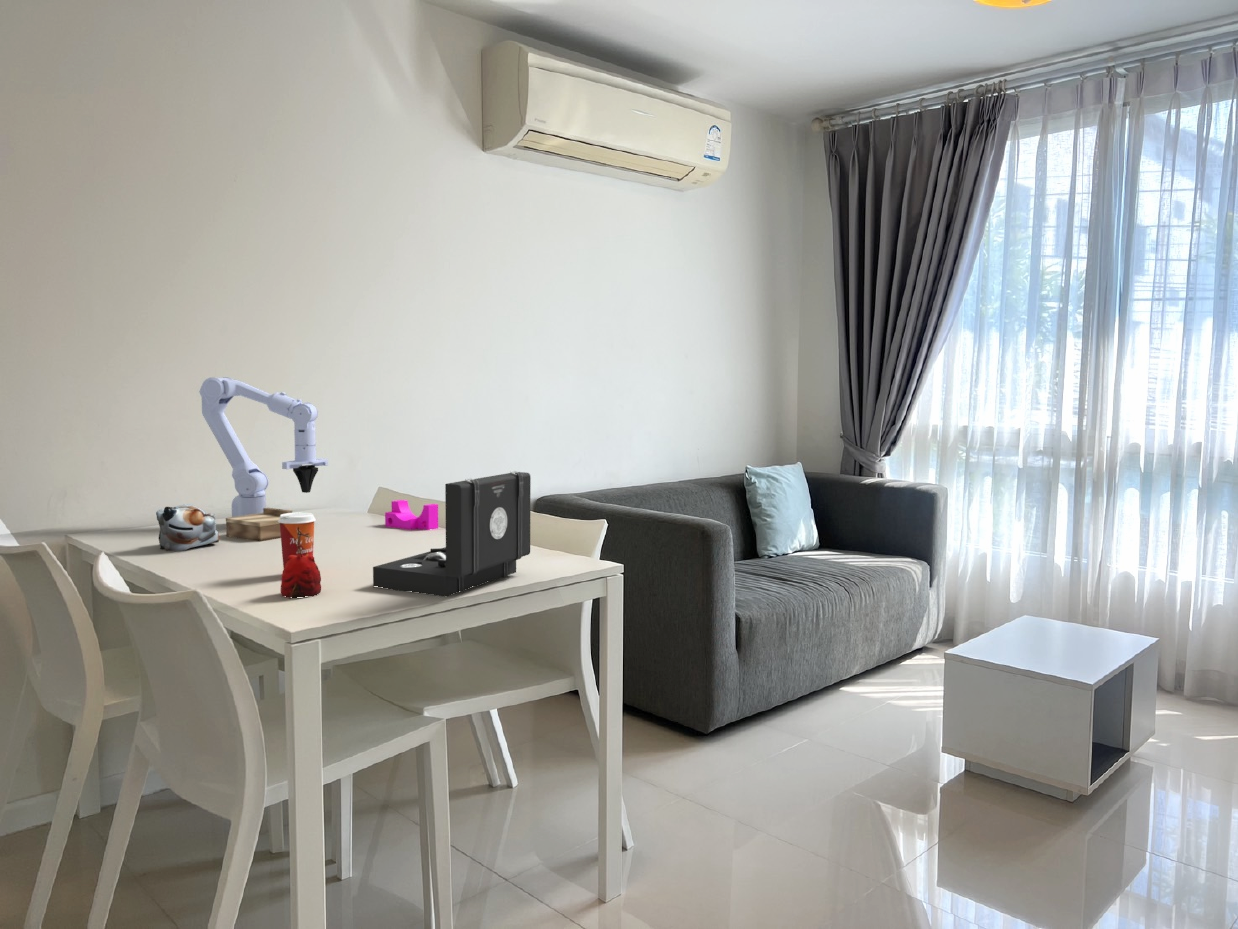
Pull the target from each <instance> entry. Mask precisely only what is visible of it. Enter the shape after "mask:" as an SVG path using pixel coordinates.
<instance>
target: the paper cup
mask: <svg viewBox="0 0 1238 929" xmlns="http://www.w3.org/2000/svg"><path fill="white" fill-rule="evenodd" d="M316 520H317V519H316V518H315V516H314V513H312V512H300V511H299V512H297V511H296V512H292V513H286V514H282V515H280V520H278V522H279V523H280V533H281V538H280V541H281V542H280V543H281V554H282V556H281V557H282V566H283V568H282V569H284V567H285V565H286V563H287V562H288V557H289V556H290V555H295V556H297V552H298V547H297V543H298V535H297V530H298V529H297V528H298V526H299V530H300V531H301V533H302V534H307V533H310V535H309V536H310V538H308V537H305V536H302V535H301V537H300V543H301V546H300V550H301V553H302V555H303V556H308V555H312V556H313V557H314V540H315V539H314V538H315V537H314V536H315V522H316ZM296 529H297V530H296Z"/></svg>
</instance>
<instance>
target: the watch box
mask: <svg viewBox="0 0 1238 929" xmlns="http://www.w3.org/2000/svg"><path fill="white" fill-rule="evenodd" d="M531 479H532V478H531V474H530V473H529V472H524V471H523V472H521V471H518V470H511V471H509V472H507V473H502V474H495V475H490V476H485V477H478V478H472V477H469V478H465V479H464V480H461V481H454V482H449V483H445V486H444V488H445V490H444V491H445V492H444V494H445V497H444V498H445V502H444V503H445V507H444V508H445V546H444V547H441V548H430V551H427V552H422V553H420V554H415V555H412V556H408V557H404V558H400V559H398V560H394V561H390V562H386V563H382V564H379V565H376V566H373V567H372V577H373V578H372V582H373V583H372V587H373V586H378V587H383V588H388V589H387V590H390V589H393V591H398V590H399V592H406V591H412V592H411V593H414V592H419V593H418V594H421V593H426V594H425V595H429V594H434V595H433V596H437V595H439V597H445V596H447V597H449V595H450V596H452V595H451V594H453V593H455V594H457V593H456V592H459V591H463V592H464V591H466V590H465V589H467V590H469V589H468V588H470V587H472V586H476V587H477V585H478V586H481V585H483V584H482V583H484V584H486V583H485V582H487V581H490V582H492V581H496V580H499V579H501V578H505V576H506V577H508V576H510V575H513V574H515V573H517V561H518V560H520V559H522V558H523V557H525V556H529V555H530V554H531V484H532V482H531ZM498 578H499V579H498ZM495 579H496V580H495ZM487 583H488V582H487ZM480 584H481V585H480ZM470 589H471V588H470ZM453 595H454V594H453Z"/></svg>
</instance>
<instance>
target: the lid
mask: <svg viewBox="0 0 1238 929" xmlns="http://www.w3.org/2000/svg"><path fill="white" fill-rule="evenodd" d="M286 513H293V510H289V509H281V508H273V507H272V508H271V507H266V508H263V513H258V514H251V515H244V516H237V517H232V516H231V517H226V518H225V523H226V522H230V523H237V524H244V525H251V526H258V527H262V526H269V525H275V524H280V523H279V522H278V520H280V515H282V514H286Z"/></svg>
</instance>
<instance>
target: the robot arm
mask: <svg viewBox="0 0 1238 929" xmlns="http://www.w3.org/2000/svg"><path fill="white" fill-rule="evenodd" d="M198 391H199V395H200V396H201V414H202V416H203V418H204V420H205V421H206V424H207V426H208V427H209V429H210V430H211V432H212V434H213V436H214V438H215V439H216V442H217V443H218V445H219V447H220V449H221V450H222V452H223V454H224V455H225V457H226V459H227V461H228V463H229V464H230V466H231V468H232V472H231V477H232V478H233V481H234V488H235V491H236V492H237V493H238V495H236V496H234V498H233V499H232V501H231V517H237V516H244V515H251V514H258V513H263V508H267V505H266V504H267V502H266V500H267V499H266V498H267V497H266V490H267V489H268V486H269V484H270V483H269V482H270V481H269V478H268V476H267V474H266V473H265V472H263V471H262V470H261V469H260V468H259V466H258V465H257V464H256V463H254V462H253V461H252V459H250V456H249V455H248V453H247V451H246V449H245V447H244V446H243V444H242V442H241V441H240V439H239V437H238V435H237V434H236V431H235V430H234V427H233V426H232V425H231V423H230V422H229V418H227V416H226V414H225V411H226V409H227V407H228V404H229V403H230V402H231V400H232V399H233V398H234V397H238V396H241V397H244V398H247V399H249V400H252V401H255V402H258V403H261V404H263V405H266V407H267V409H268V410H269V411H270V412H272V413H274V414H277V415H280V416H282V417H285V418H288V419H290V420H292V422H294V427H293V428H294V430H293V432H294V434H293V435H294V460H289V461H282V462H281V467H282V469H283V470H291V469H292V471H293V473H294V475H295V476H296V478H297V480H298V484H299V486H300V489H301V493H304V494H305V493H306V494H308V493H311V490H312V486H313V482H314V480H315V477H316V476H317V474H318V472H319V467H323V466H329V459H328V458H317V454H316V453H317V452H316V451H317V448H316V444H317V442H316V440H317V439H316V420H317V418H318V413H319V411H318V409H317V407H316V406H315V405H313V404H312V403H311V402H302V401H303V400H302V399H300V398H297V399H296V398H293V397H291V396H288V395H287V392H284V391H280V392H278V391H277V392H274V393H272V394H271V393H269V392H266V391H265V390H262V389H261V388H257V387H255V386H253V385H250V384H248V383H246V382H244V381H241V380H237V379H233V378H231V377H215V376H212V377H208V378H206V379H205V380H203V382H202V385H201V386H200V388H199V390H198Z"/></svg>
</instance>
